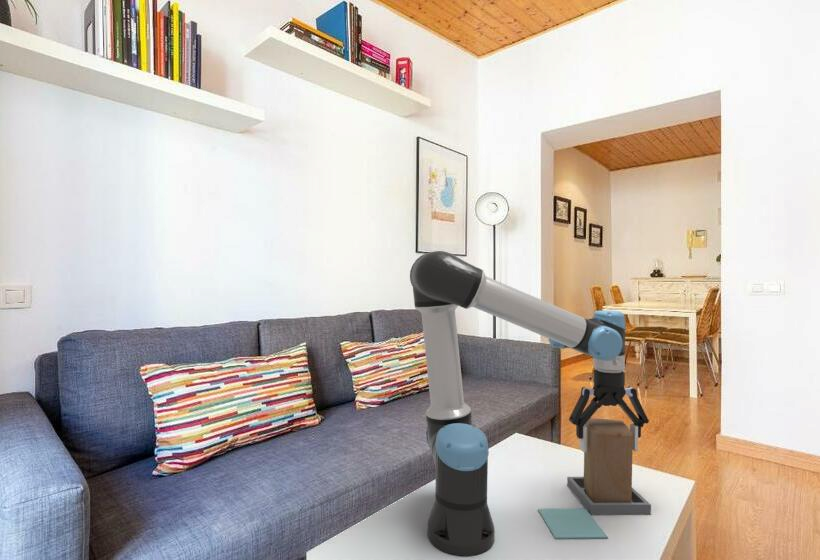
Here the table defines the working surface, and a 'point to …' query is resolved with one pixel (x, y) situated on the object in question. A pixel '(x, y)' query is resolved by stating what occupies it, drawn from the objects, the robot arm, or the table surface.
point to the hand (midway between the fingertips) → (608, 450)
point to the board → (571, 523)
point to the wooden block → (608, 461)
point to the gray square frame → (634, 508)
